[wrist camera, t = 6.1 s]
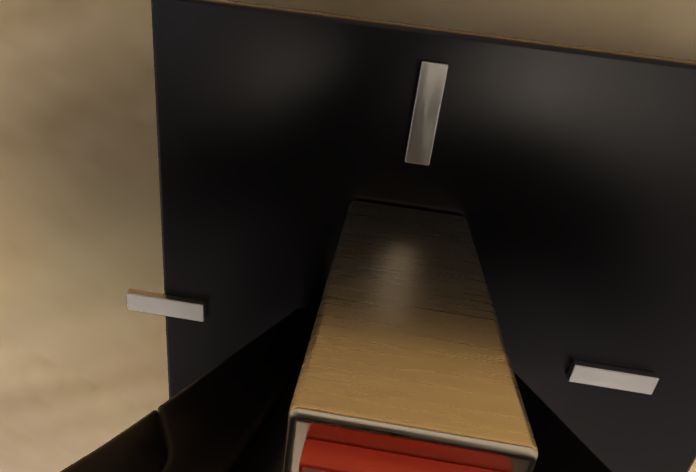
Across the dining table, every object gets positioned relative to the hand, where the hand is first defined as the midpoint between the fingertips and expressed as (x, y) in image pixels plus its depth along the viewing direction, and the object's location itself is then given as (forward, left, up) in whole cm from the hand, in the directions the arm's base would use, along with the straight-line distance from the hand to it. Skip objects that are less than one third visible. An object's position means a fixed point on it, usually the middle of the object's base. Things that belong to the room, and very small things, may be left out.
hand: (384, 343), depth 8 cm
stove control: (+1, -1, -3) cm, 3 cm away
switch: (0, 0, 0) cm, 0 cm away
